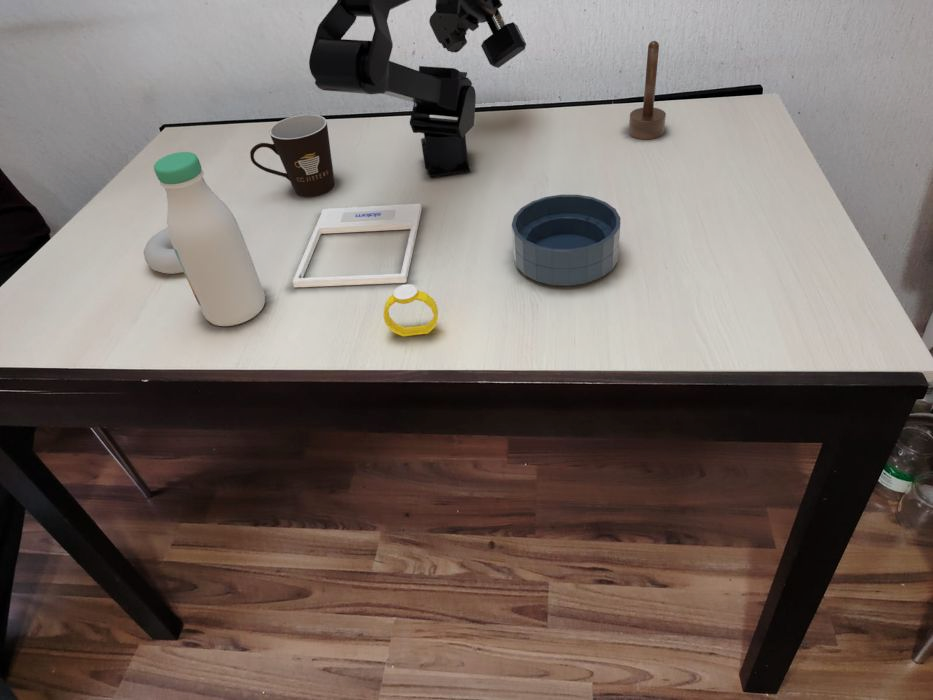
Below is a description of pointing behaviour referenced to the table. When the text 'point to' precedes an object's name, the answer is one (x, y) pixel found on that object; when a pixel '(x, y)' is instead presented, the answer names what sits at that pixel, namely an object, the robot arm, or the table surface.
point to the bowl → (566, 239)
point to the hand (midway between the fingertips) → (502, 20)
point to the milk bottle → (208, 243)
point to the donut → (162, 254)
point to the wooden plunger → (648, 103)
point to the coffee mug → (302, 154)
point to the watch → (405, 296)
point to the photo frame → (359, 222)
